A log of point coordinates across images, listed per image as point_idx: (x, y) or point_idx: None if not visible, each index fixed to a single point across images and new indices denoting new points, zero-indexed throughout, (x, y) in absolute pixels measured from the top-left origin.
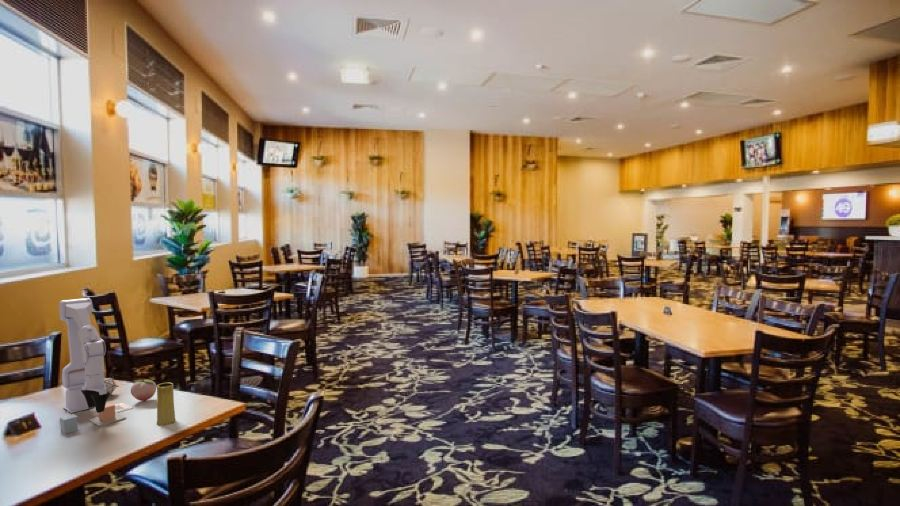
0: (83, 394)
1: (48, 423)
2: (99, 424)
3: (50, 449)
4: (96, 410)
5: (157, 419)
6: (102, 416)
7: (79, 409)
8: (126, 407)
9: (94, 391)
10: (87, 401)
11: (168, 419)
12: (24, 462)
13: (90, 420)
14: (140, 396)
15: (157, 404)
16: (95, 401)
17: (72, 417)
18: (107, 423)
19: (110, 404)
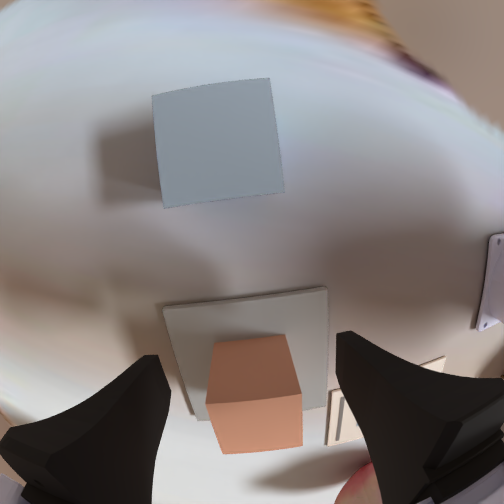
0: (458, 377)
1: (440, 112)
2: (172, 316)
3: (29, 77)
4: (136, 363)
5: None
6: (221, 360)
7: (493, 272)
8: (357, 431)
9: (391, 478)
10: (365, 362)
11: None
12: (8, 28)
13: (304, 292)
14: (357, 484)
15: None
16: (55, 415)
17: (170, 165)
18: (174, 349)
19: (264, 443)
